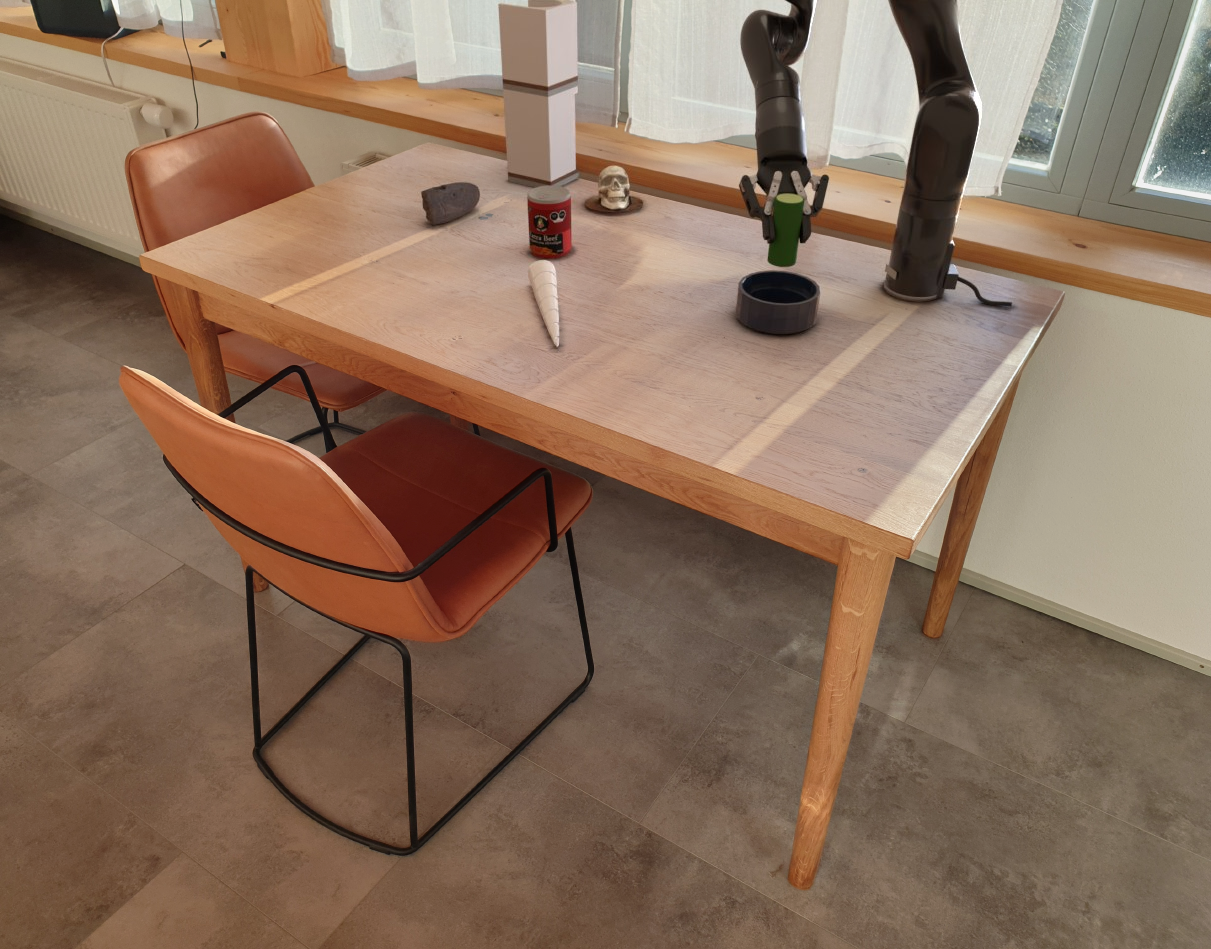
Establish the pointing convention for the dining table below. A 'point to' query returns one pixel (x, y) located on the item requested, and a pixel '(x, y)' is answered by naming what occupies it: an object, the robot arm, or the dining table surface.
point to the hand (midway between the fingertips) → (787, 241)
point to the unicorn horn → (546, 294)
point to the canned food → (549, 221)
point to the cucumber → (786, 229)
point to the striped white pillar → (540, 90)
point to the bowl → (777, 302)
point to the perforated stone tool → (449, 201)
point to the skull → (613, 192)
